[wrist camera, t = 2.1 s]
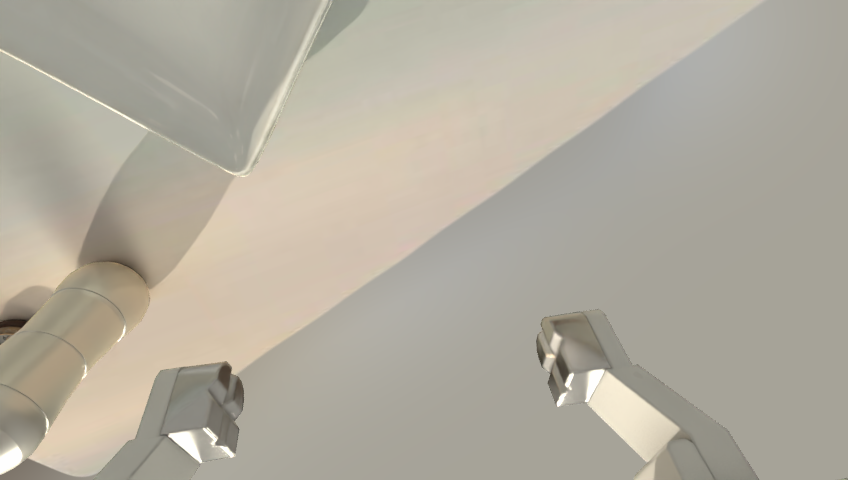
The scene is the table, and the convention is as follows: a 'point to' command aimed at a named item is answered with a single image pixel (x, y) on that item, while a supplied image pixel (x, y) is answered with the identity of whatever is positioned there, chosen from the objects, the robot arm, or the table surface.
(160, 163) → the table surface
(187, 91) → the square plate
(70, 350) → the plastic bottle
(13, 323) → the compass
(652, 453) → the robot arm
